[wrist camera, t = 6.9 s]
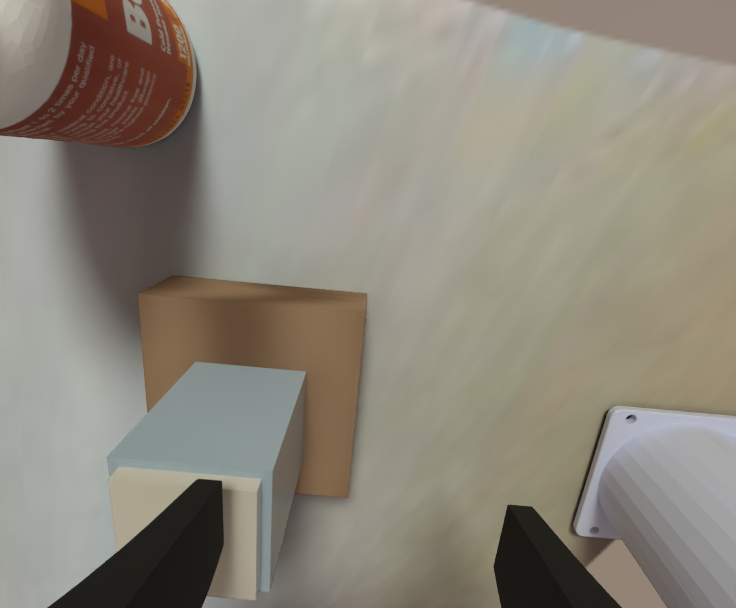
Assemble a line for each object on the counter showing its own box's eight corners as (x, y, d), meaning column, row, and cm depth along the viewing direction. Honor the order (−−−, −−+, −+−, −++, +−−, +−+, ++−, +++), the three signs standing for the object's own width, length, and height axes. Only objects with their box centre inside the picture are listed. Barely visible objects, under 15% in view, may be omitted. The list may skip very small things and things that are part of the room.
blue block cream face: (306, 371, 17) (268, 483, 11) (301, 463, 19) (265, 608, 13) (195, 361, 17) (95, 469, 11) (199, 454, 19) (112, 596, 13)
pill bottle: (233, 63, 17) (-15, -124, 6) (145, 179, 18) (-179, 195, 7) (100, -69, 15) (-509, -594, 5) (17, 68, 17) (-592, -103, 6)
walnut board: (367, 293, 19) (365, 315, 17) (351, 455, 22) (348, 497, 19) (172, 275, 19) (137, 294, 16) (181, 440, 22) (153, 481, 19)
